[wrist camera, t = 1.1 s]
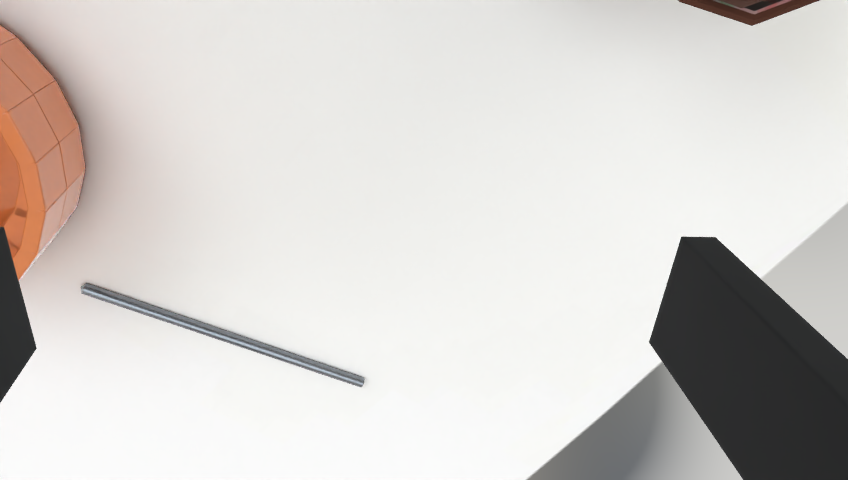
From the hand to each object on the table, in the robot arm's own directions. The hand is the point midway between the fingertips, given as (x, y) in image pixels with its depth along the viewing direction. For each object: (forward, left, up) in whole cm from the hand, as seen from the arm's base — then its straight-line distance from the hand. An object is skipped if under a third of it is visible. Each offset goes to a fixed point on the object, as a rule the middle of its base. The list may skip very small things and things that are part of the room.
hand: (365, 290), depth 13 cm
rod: (+19, -7, -24) cm, 32 cm away
